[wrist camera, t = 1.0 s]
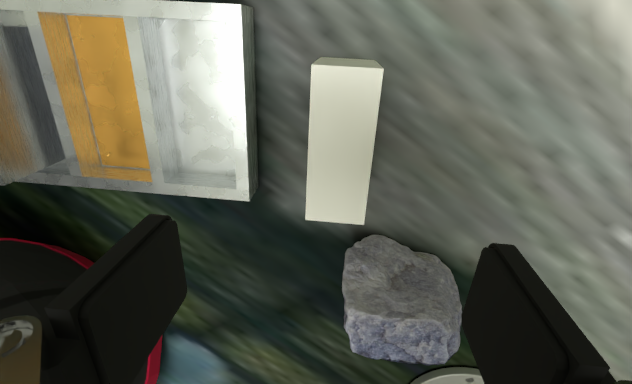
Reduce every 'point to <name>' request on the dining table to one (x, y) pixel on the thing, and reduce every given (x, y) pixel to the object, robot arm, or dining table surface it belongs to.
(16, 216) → the dining table surface
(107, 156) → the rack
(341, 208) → the off-white rectangular block
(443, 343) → the rock
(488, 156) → the dining table surface
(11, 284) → the helmet
